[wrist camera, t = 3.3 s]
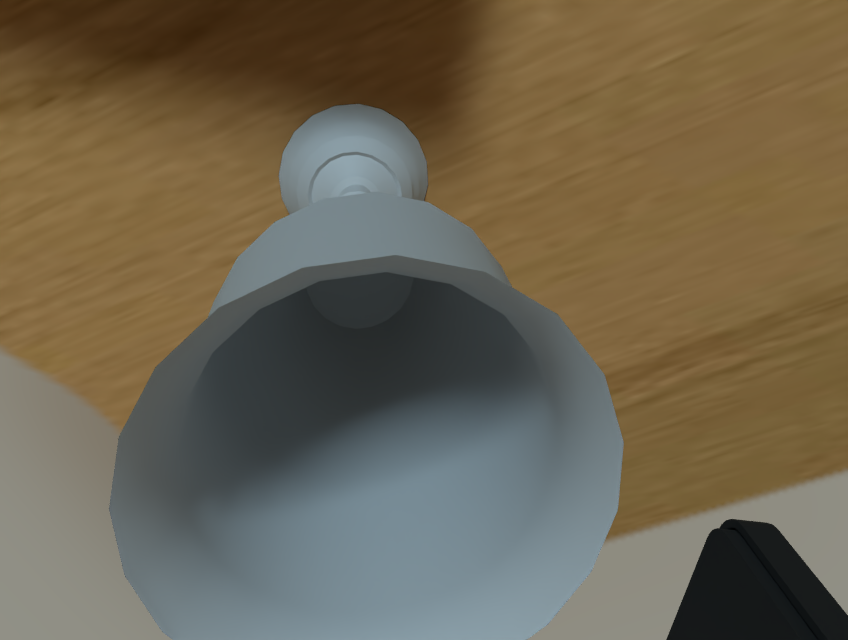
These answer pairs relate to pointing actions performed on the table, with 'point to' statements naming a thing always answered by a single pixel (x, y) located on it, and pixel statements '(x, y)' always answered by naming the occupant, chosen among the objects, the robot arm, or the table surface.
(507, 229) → the table surface
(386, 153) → the chalice
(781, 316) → the table surface
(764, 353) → the table surface
